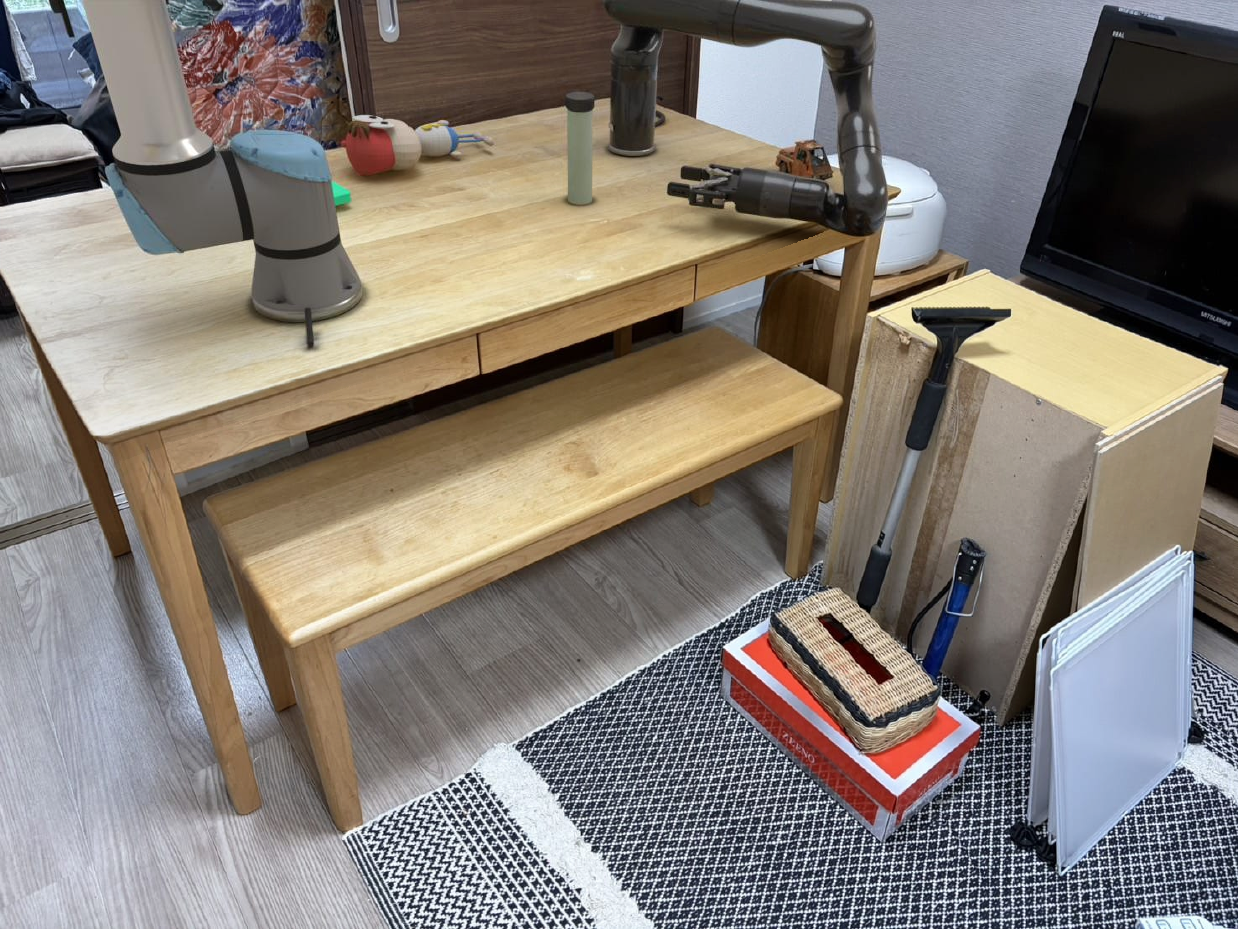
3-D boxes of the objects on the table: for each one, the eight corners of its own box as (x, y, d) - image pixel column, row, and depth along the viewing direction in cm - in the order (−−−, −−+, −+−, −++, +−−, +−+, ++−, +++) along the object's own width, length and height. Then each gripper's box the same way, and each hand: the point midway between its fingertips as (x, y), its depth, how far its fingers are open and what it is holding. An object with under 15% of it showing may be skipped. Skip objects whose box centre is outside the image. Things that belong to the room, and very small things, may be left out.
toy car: (791, 165, 186) (796, 130, 181) (837, 182, 178) (843, 146, 174) (769, 171, 182) (773, 136, 178) (815, 189, 175) (821, 153, 171)
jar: (584, 194, 171) (584, 93, 160) (596, 202, 168) (597, 99, 157) (563, 198, 169) (562, 96, 158) (575, 206, 166) (575, 103, 155)
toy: (509, 121, 178) (356, 125, 163) (508, 175, 183) (360, 183, 168) (469, 106, 192) (324, 108, 177) (469, 157, 197) (328, 162, 181)
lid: (585, 101, 161) (585, 90, 160) (599, 109, 158) (599, 97, 157) (560, 105, 159) (560, 93, 158) (574, 113, 156) (574, 101, 154)
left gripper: (161, -132, 142) (196, 19, 154) (-27, -128, 131) (27, 34, 144) (171, -127, 137) (206, 28, 149) (-24, -124, 126) (32, 44, 138)
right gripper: (755, 230, 153) (661, 215, 157) (772, 200, 164) (683, 187, 168) (760, 186, 149) (664, 171, 152) (777, 158, 159) (687, 145, 163)
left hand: (118, 31), depth 146 cm, fingers open, 13 cm apart
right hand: (674, 179), depth 160 cm, fingers open, 8 cm apart
